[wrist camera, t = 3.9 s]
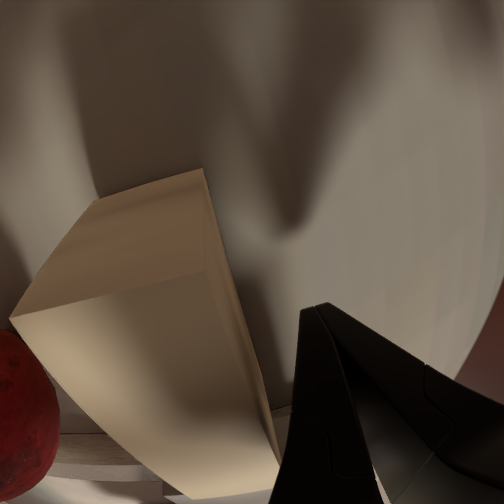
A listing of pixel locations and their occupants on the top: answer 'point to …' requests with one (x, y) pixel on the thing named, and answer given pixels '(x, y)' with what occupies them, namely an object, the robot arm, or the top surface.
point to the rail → (106, 458)
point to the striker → (158, 342)
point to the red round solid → (25, 418)
